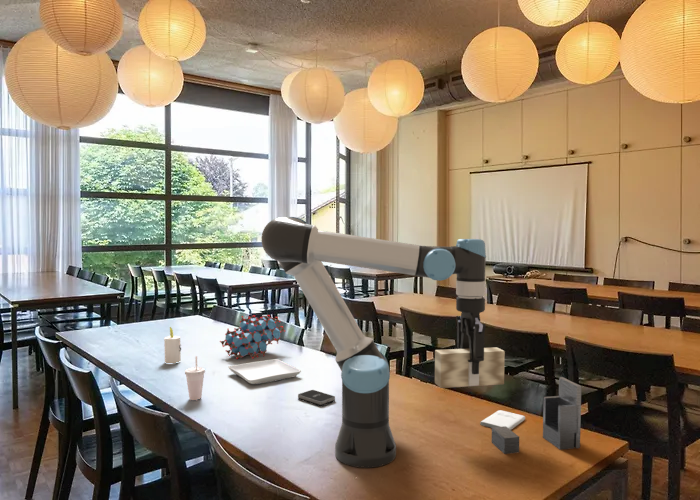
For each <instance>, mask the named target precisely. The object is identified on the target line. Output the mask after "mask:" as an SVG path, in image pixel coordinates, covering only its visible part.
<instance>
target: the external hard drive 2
mask: <svg viewBox="0 0 700 500" xmlns="http://www.w3.org/2000/svg"><path fill="white" fill-rule="evenodd" d="M525 420H526V416H525V415H522V414H518V413H513V412H510V411H506V410H501V409H500V410H499V409H498V410H497V411H495V412H494V413H492V414H491V415H488V416H487V417H486V418H483V420H481V421H480V422H479V423H480V426H483V427H486V428H491V429H492V427H503V426H506V427H507V428H509V429H510V430H511V431H512V430H513V429H514V428H515V427H517V426H519V424H521V423H522V422H524V421H525Z"/></svg>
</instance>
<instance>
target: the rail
mask: <svg viewBox="0 0 700 500" xmlns="http://www.w3.org/2000/svg"><path fill="white" fill-rule="evenodd" d="M505 352H506V351H505V350H503V349H501V348H499V347H484V361H480V362H479V385H478V386H477V387H480V386H481V387H482V386H497V385H504V384H505V354H506V353H505ZM468 360H470V350H469V349H457V348H454V349H453V348H452V349H451V348H450V349H435V350H434V384H435V385H436V386H438V387H439V388H440V389H442V388H443V389H446V388H461V387H462V388H463V387H464V388H465V387H470V386H469V385H468V369H469V362H468Z"/></svg>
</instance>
